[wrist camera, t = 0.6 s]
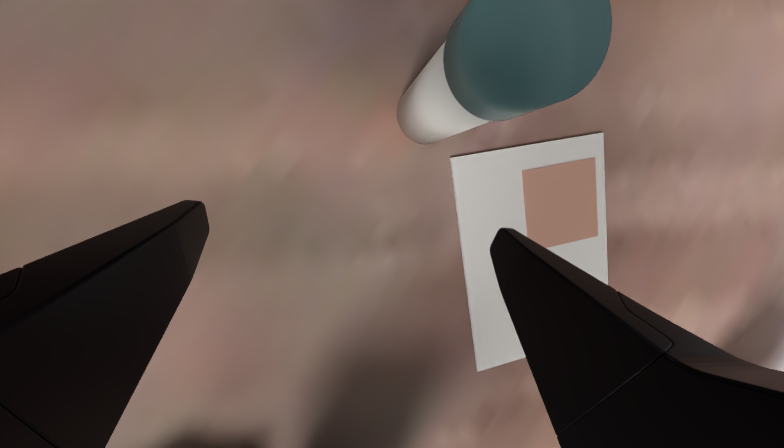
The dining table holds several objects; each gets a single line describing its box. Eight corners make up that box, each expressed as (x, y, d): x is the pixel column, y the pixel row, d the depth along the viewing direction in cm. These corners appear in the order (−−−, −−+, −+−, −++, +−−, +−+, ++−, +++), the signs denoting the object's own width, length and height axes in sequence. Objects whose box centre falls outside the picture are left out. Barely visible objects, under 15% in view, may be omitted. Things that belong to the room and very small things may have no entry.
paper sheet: (607, 331, 28) (610, 332, 28) (476, 370, 26) (478, 372, 26) (601, 132, 25) (604, 132, 25) (449, 158, 23) (451, 157, 22)
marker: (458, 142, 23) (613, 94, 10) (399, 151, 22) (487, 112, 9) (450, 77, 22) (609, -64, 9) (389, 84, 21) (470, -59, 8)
